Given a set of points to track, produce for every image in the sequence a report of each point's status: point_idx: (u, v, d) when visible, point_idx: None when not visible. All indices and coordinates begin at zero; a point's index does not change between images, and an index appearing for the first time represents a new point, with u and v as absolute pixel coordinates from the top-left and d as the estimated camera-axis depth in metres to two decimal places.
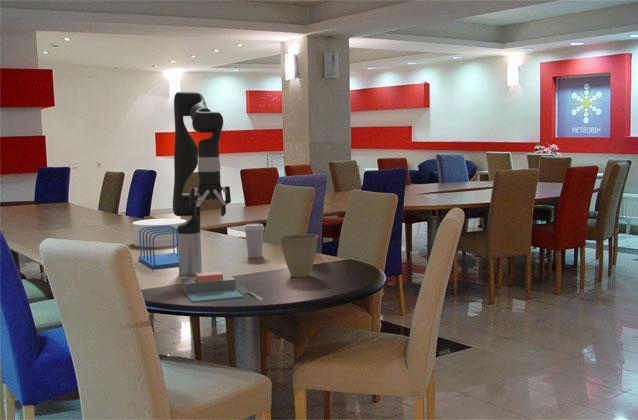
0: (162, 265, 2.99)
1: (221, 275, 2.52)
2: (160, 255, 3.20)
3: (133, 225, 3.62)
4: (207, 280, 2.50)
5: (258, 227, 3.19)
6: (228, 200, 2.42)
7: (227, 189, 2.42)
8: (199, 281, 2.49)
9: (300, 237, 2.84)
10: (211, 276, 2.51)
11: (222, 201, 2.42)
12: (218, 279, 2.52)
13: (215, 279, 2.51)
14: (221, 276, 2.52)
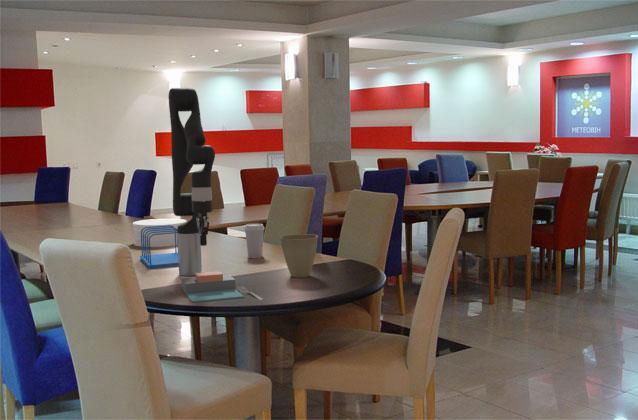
0: (158, 265, 2.99)
1: (221, 275, 2.52)
2: (161, 255, 3.21)
3: (133, 225, 3.62)
4: (207, 280, 2.50)
5: (258, 227, 3.19)
6: None
7: None
8: (199, 281, 2.49)
9: (300, 237, 2.84)
10: (211, 276, 2.51)
11: None
12: (218, 279, 2.52)
13: (215, 279, 2.51)
14: (221, 276, 2.52)
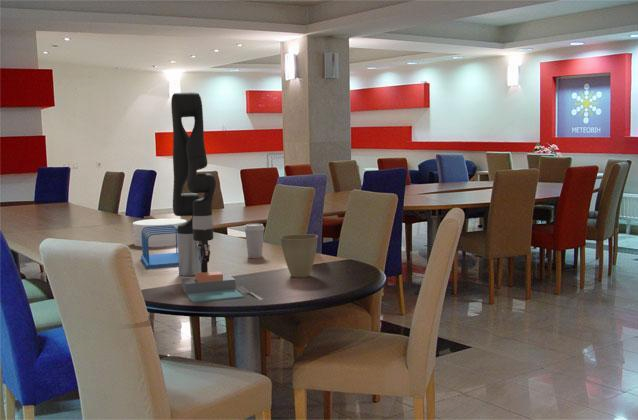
0: (156, 265, 3.00)
1: (221, 275, 2.52)
2: (162, 255, 3.21)
3: (133, 225, 3.62)
4: (207, 280, 2.50)
5: (258, 227, 3.19)
6: None
7: None
8: (199, 281, 2.49)
9: (300, 237, 2.84)
10: (211, 276, 2.51)
11: None
12: (218, 279, 2.52)
13: (215, 279, 2.51)
14: (221, 276, 2.52)
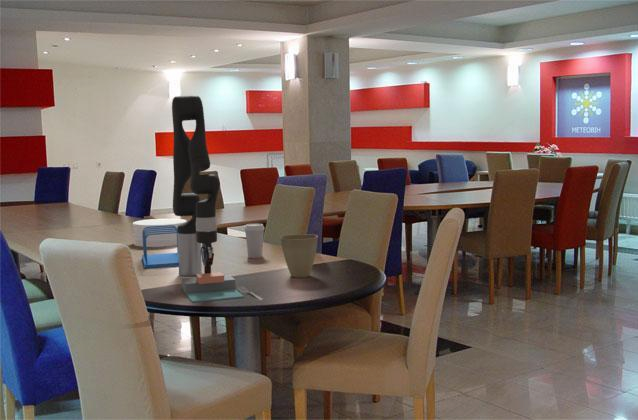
0: (154, 265, 3.00)
1: (222, 276, 2.50)
2: (162, 254, 3.22)
3: (133, 225, 3.62)
4: (208, 281, 2.48)
5: (258, 227, 3.19)
6: None
7: None
8: (200, 282, 2.47)
9: (300, 237, 2.84)
10: (212, 277, 2.49)
11: None
12: (219, 280, 2.50)
13: (216, 280, 2.49)
14: (222, 277, 2.50)
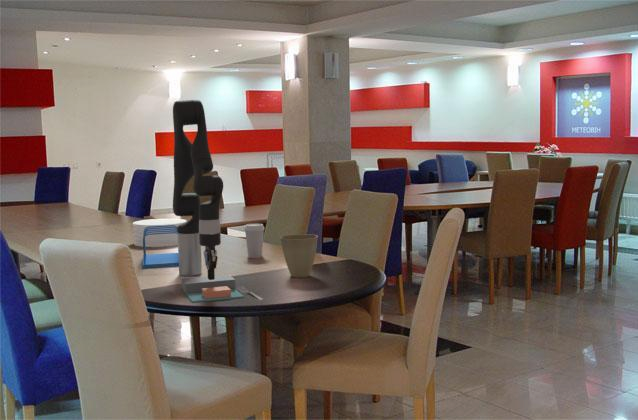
0: (152, 265, 3.00)
1: None
2: (163, 254, 3.22)
3: (133, 225, 3.62)
4: None
5: (258, 227, 3.19)
6: None
7: None
8: None
9: (300, 237, 2.84)
10: None
11: None
12: None
13: None
14: None
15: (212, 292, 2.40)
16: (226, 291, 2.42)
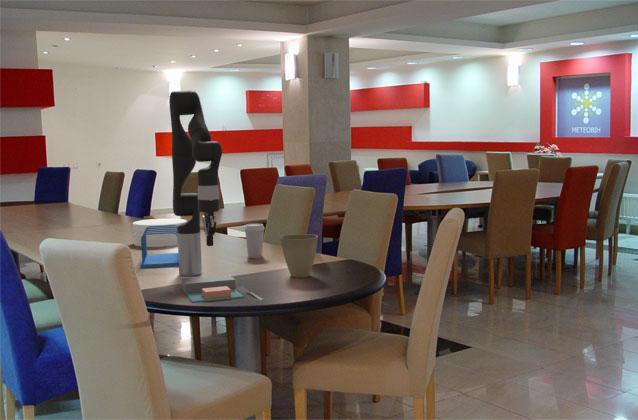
0: (150, 265, 3.00)
1: None
2: (164, 254, 3.22)
3: (133, 225, 3.62)
4: None
5: (258, 227, 3.19)
6: None
7: None
8: None
9: (300, 237, 2.84)
10: None
11: None
12: None
13: None
14: None
15: (212, 292, 2.40)
16: (226, 291, 2.42)
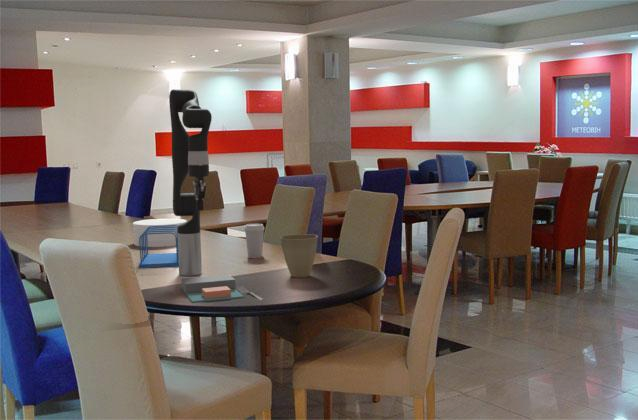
0: (148, 265, 3.01)
1: None
2: (165, 254, 3.22)
3: (133, 225, 3.63)
4: None
5: (258, 227, 3.19)
6: (201, 195, 2.60)
7: None
8: None
9: (300, 237, 2.84)
10: None
11: None
12: None
13: None
14: None
15: (212, 292, 2.40)
16: (226, 291, 2.42)
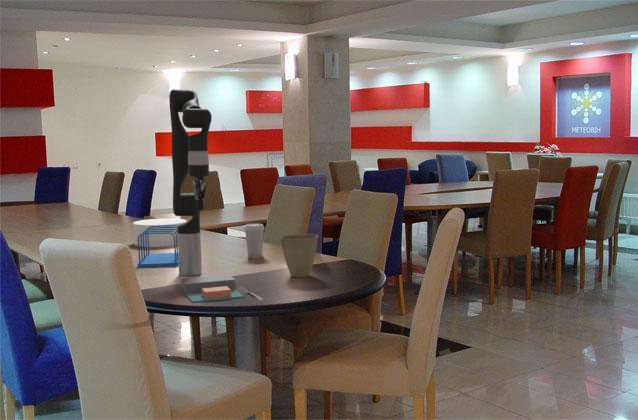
0: (147, 264, 3.01)
1: None
2: (166, 254, 3.23)
3: (133, 225, 3.63)
4: None
5: (258, 227, 3.19)
6: (201, 194, 2.60)
7: None
8: None
9: (300, 237, 2.84)
10: None
11: None
12: None
13: None
14: None
15: (212, 292, 2.40)
16: (226, 291, 2.42)
